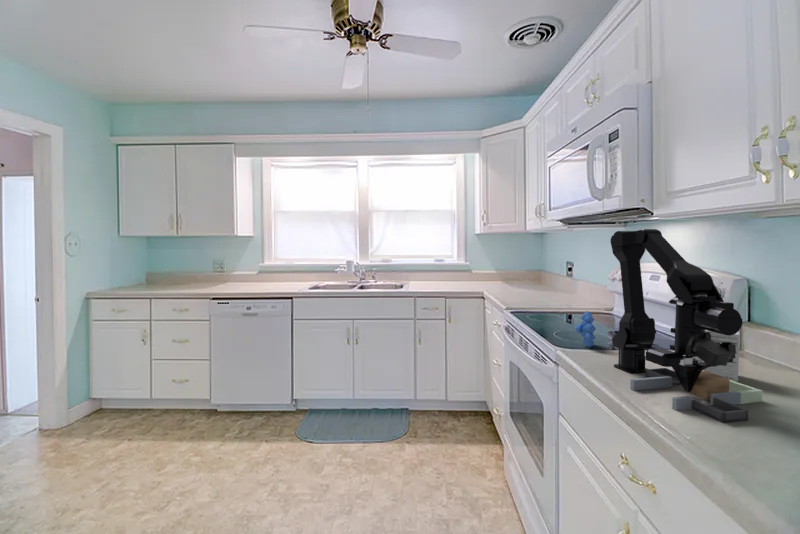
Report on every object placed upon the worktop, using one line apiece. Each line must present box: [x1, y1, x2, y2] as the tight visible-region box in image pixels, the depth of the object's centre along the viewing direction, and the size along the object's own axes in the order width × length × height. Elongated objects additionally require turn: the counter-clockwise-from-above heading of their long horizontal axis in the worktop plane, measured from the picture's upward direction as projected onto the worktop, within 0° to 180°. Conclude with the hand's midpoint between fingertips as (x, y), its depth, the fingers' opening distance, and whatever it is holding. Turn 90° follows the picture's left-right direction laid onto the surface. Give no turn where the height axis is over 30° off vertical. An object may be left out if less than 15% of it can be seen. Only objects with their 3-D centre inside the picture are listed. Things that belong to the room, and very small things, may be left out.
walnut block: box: [688, 370, 730, 401], centre depth 96 cm, size 6×6×4 cm
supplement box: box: [703, 330, 741, 383], centre depth 109 cm, size 7×7×13 cm
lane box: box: [629, 367, 764, 424], centre depth 95 cm, size 27×23×2 cm
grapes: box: [574, 310, 596, 348], centre depth 141 cm, size 12×7×12 cm, turn 165°
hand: (687, 391), depth 95 cm, fingers closed
